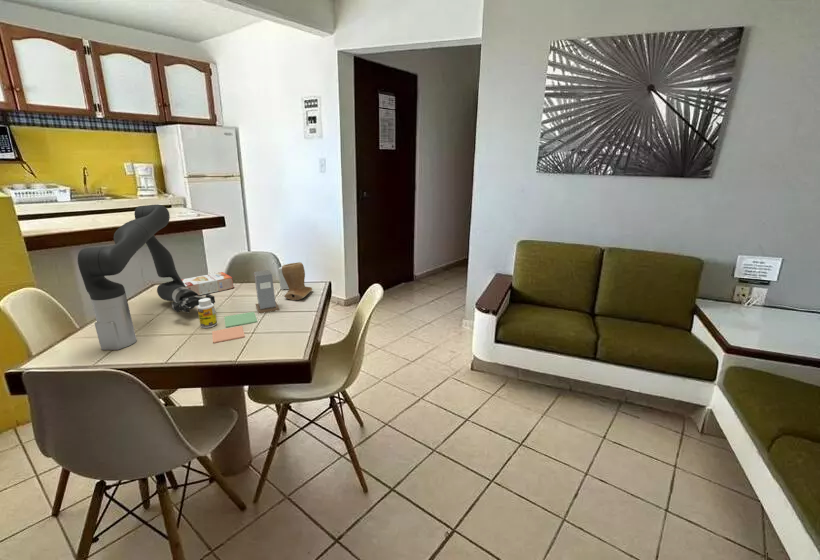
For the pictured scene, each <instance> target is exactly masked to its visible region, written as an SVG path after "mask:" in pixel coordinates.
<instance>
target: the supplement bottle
mask: <svg viewBox="0 0 820 560" xmlns="http://www.w3.org/2000/svg"><path fill="white" fill-rule="evenodd" d="M196 308H197V314H198V320H199V326H200V327H201V328H202V329H203V328H204V329H208V328H209V329H210V328H213V327H215V326H216V325H217V324H218V322H217V321H218V320H217V315H216V310H215V303H214V304H213V303H211V299H210V298H204V299H200V300H199V305H198V306H196Z"/></svg>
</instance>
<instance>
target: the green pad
mask: <svg viewBox="0 0 820 560" xmlns="http://www.w3.org/2000/svg"><path fill="white" fill-rule="evenodd" d="M223 319H224V325H225V329H228V328H233V327H239V326H243V325H251V324H255V323H258V320H257V319H258V318H257V317H256V313H255V311H249V312H244V313H237V314H233V315H226V316H224V317H223Z"/></svg>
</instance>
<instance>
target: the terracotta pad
mask: <svg viewBox="0 0 820 560" xmlns="http://www.w3.org/2000/svg"><path fill="white" fill-rule="evenodd" d="M211 335H212V344H217V343H222V342H223V343H224V342H228V341H234V340H239V339H244V338H245V337H246V336H245V332H244V328H243V325H239V326H234V327H228V328H224V329H223V328H222V329H218V330H212V331H211Z"/></svg>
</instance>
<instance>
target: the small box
mask: <svg viewBox="0 0 820 560" xmlns="http://www.w3.org/2000/svg"><path fill="white" fill-rule="evenodd" d="M282 266H283V265H281V266H280V267H279V268H277V271H278V279H279V287H280V290H281V289H282V290H281V291H284V290H283V289H289V287H288V285H287V283H286V280H285V278H284V277H283V274H282Z"/></svg>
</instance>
